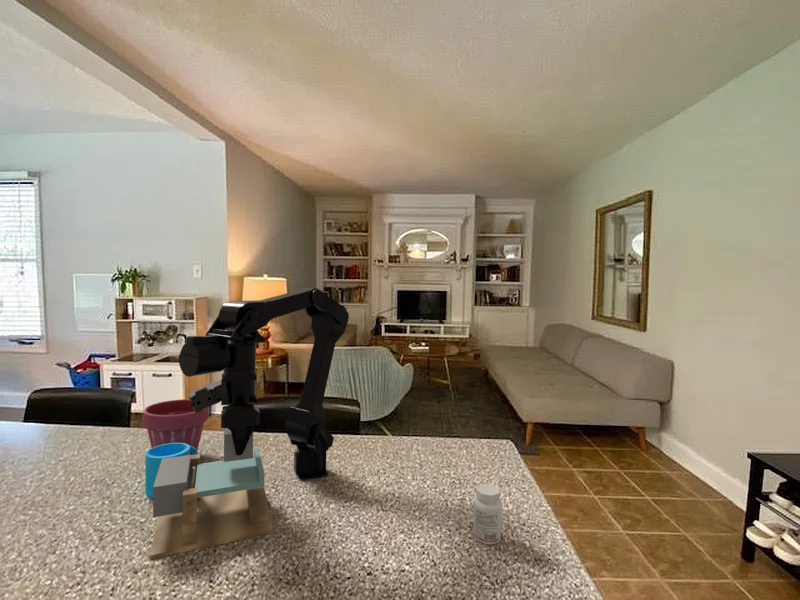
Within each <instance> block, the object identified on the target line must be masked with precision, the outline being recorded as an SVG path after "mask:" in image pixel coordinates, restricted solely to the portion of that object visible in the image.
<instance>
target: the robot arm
mask: <svg viewBox="0 0 800 600" xmlns="http://www.w3.org/2000/svg"><path fill="white" fill-rule="evenodd" d="M301 310H304V313H305V314H306V315H307V316H308V317H309V318H310V319H311V325H310V328H311V331H312V334H313V338H314V340H313V344H312V349H311V354H310V359H309V363H308V366H307V372H306V376H305V381H304V385H303V388H302V389H303V390H302V393H301V398H300V401H298V403H297V404H296V405H295V407H293V406H290V407H289V408H288V411H287V418H286V421H285V423H284V426H285V433H286V436H287V437H288V438H289V441H290V444H291V445H292V446H296V451H294V453H293V455H294V456H293V470H294V473H295V474H296V476H297V477H298V479H299V480H307V479H314V478H320V477H325V476H328V475H329V471H328V470H327V451H329V449H330V448H332V447H333V442H334V439H335V438H334V435H332V434H331V432H330V431H328V430H327V428H326V425H327V424H326V422H327V415H326V413H325V409H324V405H323V403H324V398H325V393H326V389H327V384H328V379H329V375H330V370H331V365H332V361H333V356H334V353H335V346H336V344H337V342H338V341H339V339H340V338H341V337H343V335H344V334H345V332H346V329H347V326H348V322H349V319H350V313H349V311H348V310H347V308H346V307H345V306H344V305H342V304H341V303H340V302H339V301H337V300H335V299H333V298H331V297H330V296H328V295H326V294H325V293H324V292H323V291H322V290H321V289H319V288H317V287H315V288H314V287H302V288H300V289H298V290H294V291H290V292H287V293H283V294H279V295H275V296H271V297H268V298H267V297H266V298H264V299H257V300H231V301H227V302H224V303H223V304H222V305H221V308H220V309H219V312H218V315H217V317H216V319H214V321H213V323H212V324H211V325H210V327H209V329H208V330H207V332H206V333H205V335H187V336H186V342H185V344H183V345H182V347H181V350H180V354H178V364H179V368H180V370H181V372H182V374H184V375H185V376H186V377H188V378H190V377H196V376H202V375H208V374H213V373H218V372H222V371H223V373H221V379H220V380H217V381H215V382H211V383H208V384H206V385H204V386H201V387H198V388H196V389H193V390H191V391H190V392H189V394H188V399H190V401H191V406H192V407H193V409H194V411H195V412H196V413H197V412H200V411H202V410H203V409H205V408H207V407H208V408H210V407H212V406H214V405H216V404H220V406H222V410H221V411H220V413H221V414H220V428H221V429H224V428H228V429H229V430H230V431H231V434H232V438H233V443H234V448H235V452H236V455H237V456H238V455H242V454H243V452H244V450H245V448H246V445H247V443H248V441H249V439H250V437H251V434H252V432H253V433H254V430H255V427H256V426H258V425H260V424H261V418H260V417H261V412H260V409H259V407H258V406H257V405H256V404H255V403H257V393H256V388H257V385H256V382H257V378H258V377H257V362H256V361H257V344H260V343H265V342H267V339H266V338H265V337H264V336H263V335H262V334H260V332H259V330H261V329H262V328H264V327H265V326H267V325H268V324H269V323H270V322H271V321H272V320H273V319H277V318H279V317H282V316H285V315H288V314H292V313H295V312H298V311H301Z"/></svg>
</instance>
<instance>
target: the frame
mask: <svg viewBox="0 0 800 600" xmlns="http://www.w3.org/2000/svg"><path fill="white" fill-rule="evenodd" d="M197 464H201V453H198V454H196V455H191V479H190V486H189V489H185V490H183V512H182V513H176V514H170V515H165V516H159V517H158V519H157V524H156V528H155V533H154V537H153V540H152V544H151V547H150V553H149V560H152V559H157V558H162V557H168V556H171V555H176V554H181V553H185V552H189V551H195V550H199V549H204V548H209V547H213V546H219V545H224V544H228V543H233V542H236V541H241V540H246V539H250V538H256V537H259V536H266V535H269V534H273V533H274V528H273V523H272V519H271V515H270V509H269V504H268V501H267V498H266V497H267V496H266V493H265V492H266V491H265V489H264V487H265V486H264V487H259V488H253V489H247V490H242V491H236V492H230V493H224V494H218V495H212V496H206V497H200V498H197V488H195V483H196V473H197Z"/></svg>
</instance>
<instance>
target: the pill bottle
mask: <svg viewBox="0 0 800 600" xmlns="http://www.w3.org/2000/svg"><path fill="white" fill-rule="evenodd" d="M475 495H476V497H474V500H473V537H474V539H476V540H477V541H478V542H479V543H481V544H484V545H490V546H492V545H496V544H498V543H499V542H500V541H501V539H502V516H503V515H502V513H503V511H502V510H503V504H502V501H501V492H500V489H499V488H498V487H497V486H496V485H493V484H490V483H489V484H488V483H482V484H479V485H477V486H476V491H475Z"/></svg>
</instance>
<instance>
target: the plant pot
mask: <svg viewBox="0 0 800 600" xmlns="http://www.w3.org/2000/svg"><path fill="white" fill-rule="evenodd" d="M142 411H143V413H142V426H143V428H144V429H146V430H147V435H148V439H149V442H150V443H149V444H150V449H151V448H153V447H156V446H159V445H163V444H168V443H185V444H188V445H189V446H193V447H195V448H196V450H197V451H199V450H198V449H199V445H200V441H201V437H202V434H203V428H204V424H205V423H206V422H207V421H208V419H209V407H207V408H205V409H203V410H202V411H200V412H197V413H196V412H195V411H194V409H193V407H192V406H191V401H190V399H189V398H188V399H186V398H185V399H174V400H166V401H165V400H164V401H160V402H157V403H153V404H150V405H147V406H146V407H144V409H143V410H142ZM190 455H193V454H192V451H191V450H190Z"/></svg>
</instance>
